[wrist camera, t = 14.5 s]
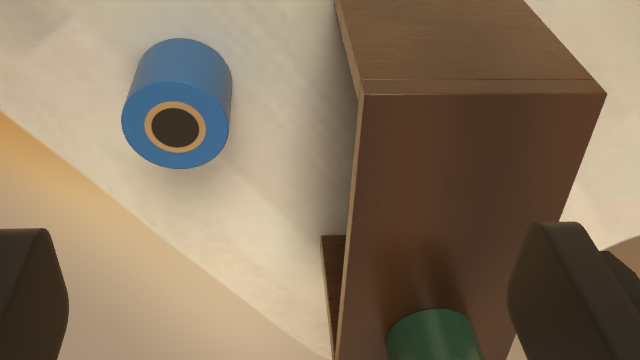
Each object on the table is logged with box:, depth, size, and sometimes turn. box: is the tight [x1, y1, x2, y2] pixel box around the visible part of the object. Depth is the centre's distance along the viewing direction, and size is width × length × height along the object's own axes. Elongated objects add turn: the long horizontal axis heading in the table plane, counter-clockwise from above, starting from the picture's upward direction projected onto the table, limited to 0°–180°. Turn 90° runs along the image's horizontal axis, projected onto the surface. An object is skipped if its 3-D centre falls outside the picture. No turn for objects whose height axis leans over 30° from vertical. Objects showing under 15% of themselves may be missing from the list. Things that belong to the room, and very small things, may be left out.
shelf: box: [320, 0, 607, 360], centre depth 35 cm, size 10×20×12 cm, turn 178°
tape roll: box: [121, 39, 232, 169], centre depth 34 cm, size 6×6×5 cm
